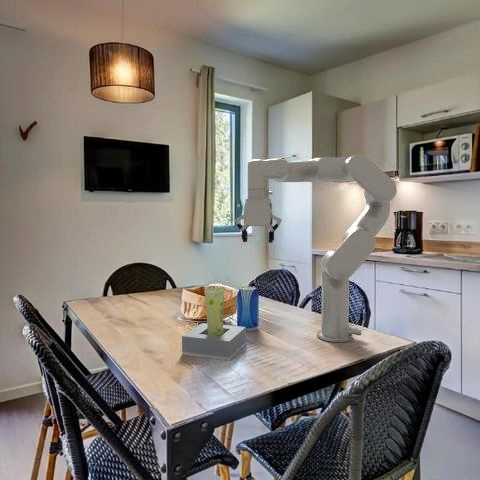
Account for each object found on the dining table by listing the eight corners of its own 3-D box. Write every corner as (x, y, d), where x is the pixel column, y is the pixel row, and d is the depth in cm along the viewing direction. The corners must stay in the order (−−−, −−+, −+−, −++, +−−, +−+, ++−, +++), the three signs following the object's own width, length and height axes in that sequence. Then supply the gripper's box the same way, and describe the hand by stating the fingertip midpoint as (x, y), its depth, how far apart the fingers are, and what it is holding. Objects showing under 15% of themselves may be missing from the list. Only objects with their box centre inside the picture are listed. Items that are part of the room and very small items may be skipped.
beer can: (256, 332, 148) (256, 290, 147) (234, 331, 150) (234, 289, 149) (260, 326, 156) (260, 286, 155) (239, 325, 158) (239, 285, 157)
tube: (219, 349, 126) (219, 289, 125) (205, 348, 127) (204, 288, 126) (225, 344, 131) (224, 286, 130) (211, 343, 133) (210, 285, 131)
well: (245, 344, 134) (245, 327, 134) (229, 360, 119) (229, 341, 119) (202, 339, 140) (202, 322, 139) (182, 354, 124) (181, 336, 124)
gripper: (283, 195, 142) (283, 242, 143) (238, 195, 147) (238, 241, 149) (279, 193, 135) (278, 243, 136) (231, 194, 140) (231, 242, 141)
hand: (257, 242), depth 142 cm, fingers open, 9 cm apart
